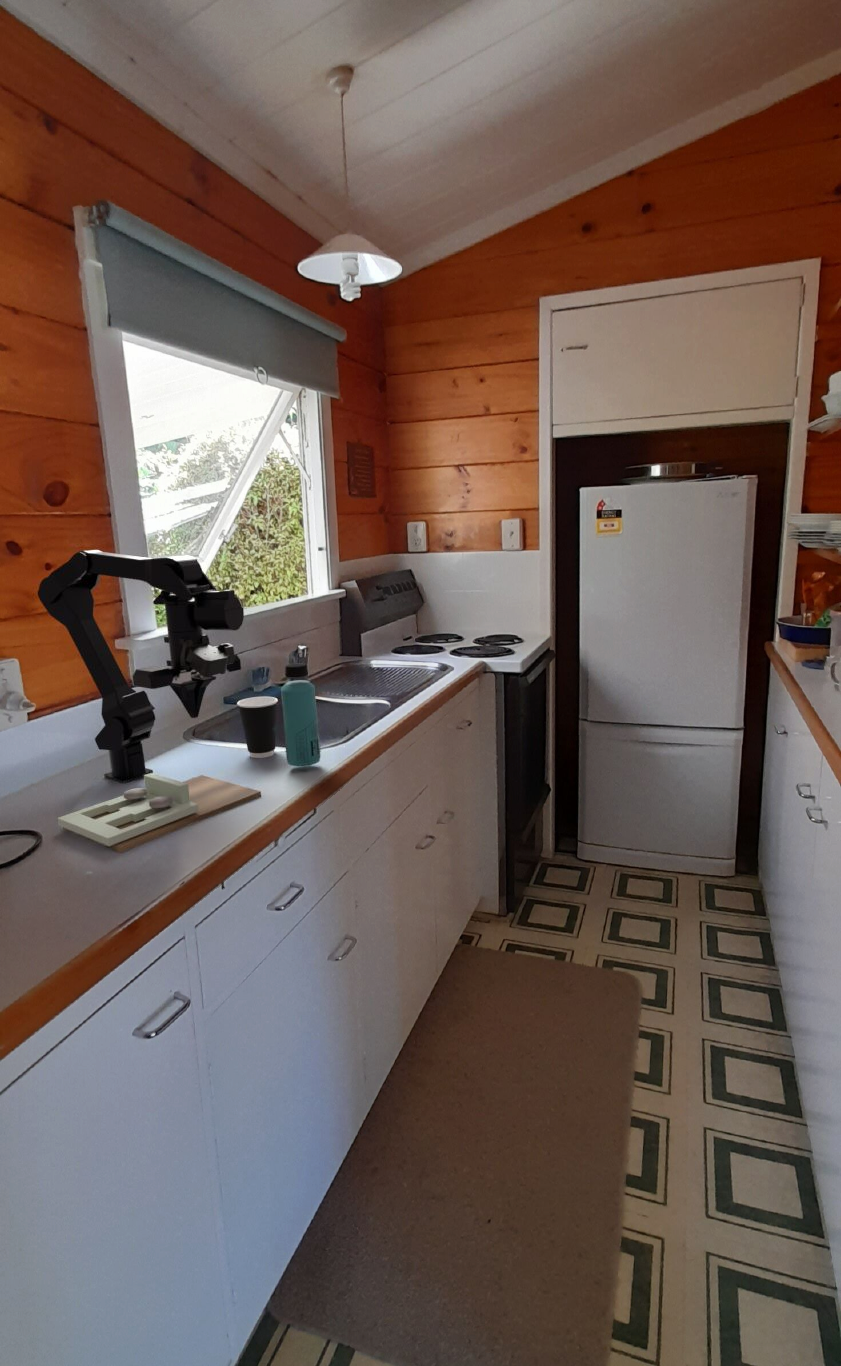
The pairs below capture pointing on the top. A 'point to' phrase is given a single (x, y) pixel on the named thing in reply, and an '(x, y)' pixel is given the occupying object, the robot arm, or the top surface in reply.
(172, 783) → the sage panel
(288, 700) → the beverage bottle
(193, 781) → the walnut board
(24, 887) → the top surface
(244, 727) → the dixie cup
